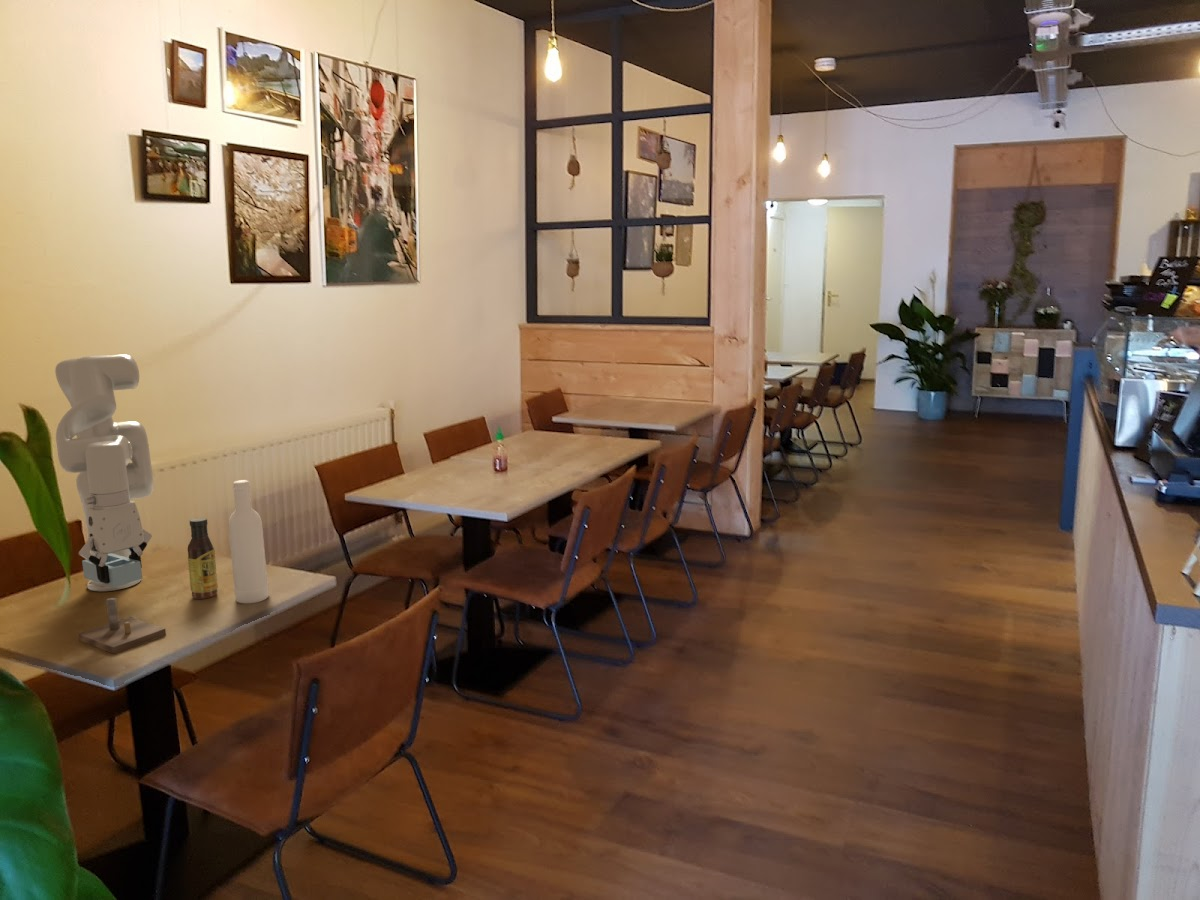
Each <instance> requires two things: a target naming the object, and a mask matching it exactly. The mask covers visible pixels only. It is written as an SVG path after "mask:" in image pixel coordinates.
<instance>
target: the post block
mask: <svg viewBox="0 0 1200 900" xmlns="http://www.w3.org/2000/svg"><path fill="white" fill-rule="evenodd" d="M105 603H106V604H105V606H106V612H107V618H108V623H107V624H105V625H102V626H98V627H96V628H93V629H90V630H87V631H84V632H80V633H78V641H80V642H83V643H85V644H87V645H90V646H93V647H95V648H98V649H101V650H103V651H105V652H109V653H111V654H115V655H116V654H117V653H120V652H123V651H126V650H128V649H129V650H130V648H134V647H137V646H139V645H142V644H145V643H147V642H150V641H153V640H156V639H158V638H161V637H164V636H166V635H167V633H166V631H167V630H166V628H164V627H163V626H162V627H161V626H158V625H156V624H153V623H150V622H148V621H144V620H141V619H139V618H135V617H133V616H128V617H125V618H121V619H119V613H118V605H117V598H116V597H110V598H109V597H108V598H107V599H105Z"/></svg>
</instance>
